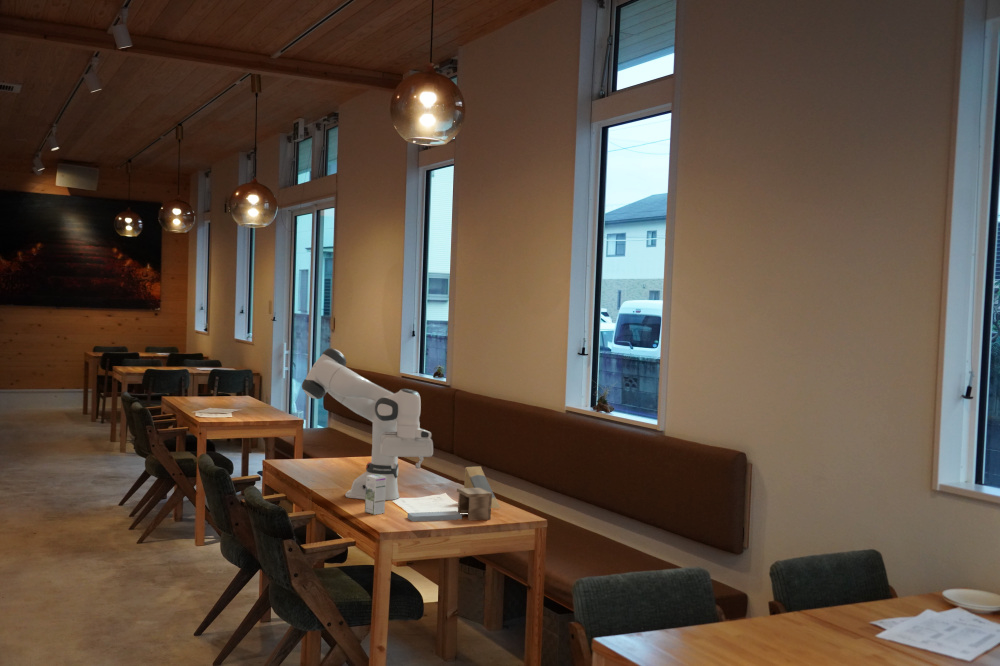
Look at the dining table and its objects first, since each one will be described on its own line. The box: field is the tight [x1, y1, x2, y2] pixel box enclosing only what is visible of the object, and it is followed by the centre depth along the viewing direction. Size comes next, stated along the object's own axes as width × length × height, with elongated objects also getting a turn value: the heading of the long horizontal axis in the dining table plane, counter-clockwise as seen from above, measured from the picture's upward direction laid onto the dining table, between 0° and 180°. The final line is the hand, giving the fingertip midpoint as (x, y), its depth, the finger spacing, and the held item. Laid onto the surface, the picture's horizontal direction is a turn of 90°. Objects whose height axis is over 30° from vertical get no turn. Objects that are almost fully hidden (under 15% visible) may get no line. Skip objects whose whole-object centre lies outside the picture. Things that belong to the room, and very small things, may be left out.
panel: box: [407, 510, 463, 523], centre depth 333 cm, size 20×6×2 cm, turn 115°
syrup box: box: [364, 474, 386, 516], centre depth 337 cm, size 6×6×14 cm
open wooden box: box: [456, 487, 492, 521], centre depth 340 cm, size 10×11×10 cm
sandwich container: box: [463, 466, 501, 509], centre depth 363 cm, size 9×15×15 cm, turn 40°
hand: (405, 468), depth 330 cm, fingers open, 8 cm apart
